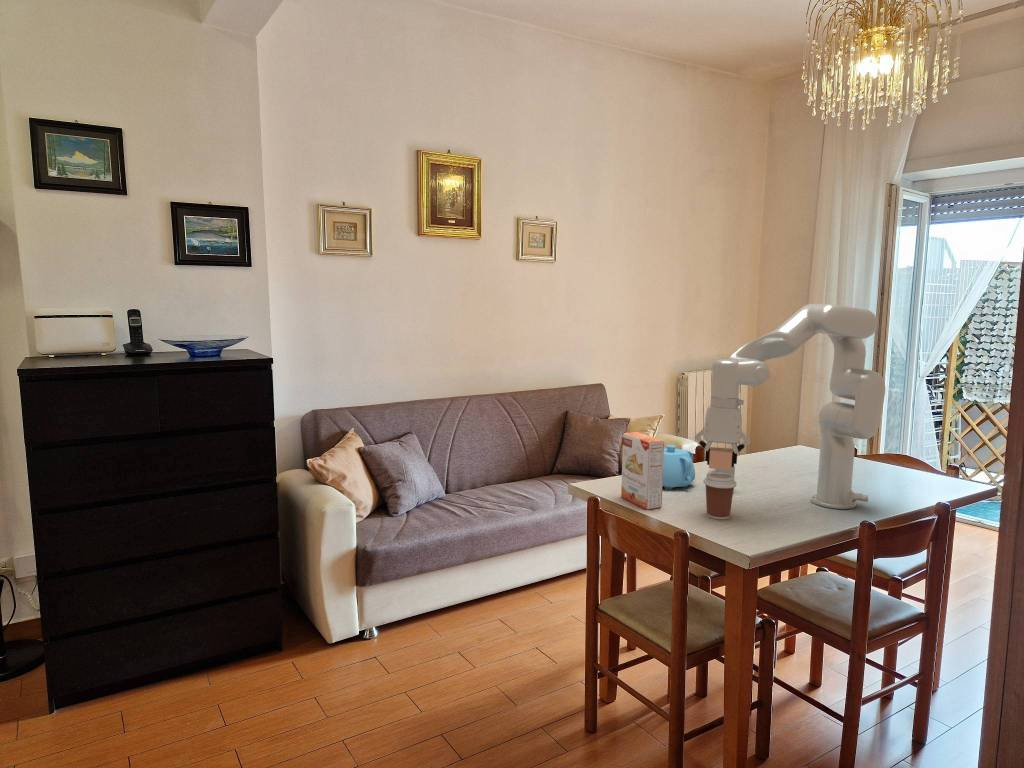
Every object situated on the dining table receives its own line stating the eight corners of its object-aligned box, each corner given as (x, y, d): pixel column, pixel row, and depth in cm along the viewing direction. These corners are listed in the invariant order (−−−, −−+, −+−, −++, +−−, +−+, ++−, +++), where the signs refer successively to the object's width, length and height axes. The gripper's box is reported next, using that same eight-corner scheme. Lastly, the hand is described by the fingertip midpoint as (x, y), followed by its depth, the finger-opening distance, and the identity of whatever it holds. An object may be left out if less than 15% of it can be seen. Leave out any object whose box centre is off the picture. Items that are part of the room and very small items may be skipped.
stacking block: (731, 465, 192) (732, 448, 191) (731, 470, 186) (732, 453, 186) (710, 463, 194) (711, 446, 193) (708, 468, 188) (709, 451, 188)
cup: (738, 492, 216) (739, 466, 214) (713, 496, 212) (715, 468, 211) (723, 486, 222) (724, 461, 221) (699, 489, 218) (700, 463, 217)
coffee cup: (701, 509, 198) (703, 470, 196) (733, 512, 195) (736, 473, 194) (701, 519, 189) (703, 478, 188) (735, 522, 187) (737, 481, 185)
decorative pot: (650, 476, 235) (652, 438, 233) (697, 481, 228) (699, 442, 227) (640, 488, 220) (641, 448, 218) (689, 494, 214) (691, 452, 212)
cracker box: (619, 497, 209) (622, 432, 206) (635, 495, 211) (638, 431, 209) (645, 510, 196) (648, 441, 193) (662, 508, 198) (665, 440, 196)
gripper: (756, 403, 189) (752, 465, 191) (693, 399, 194) (690, 459, 197) (756, 407, 182) (752, 471, 184) (691, 402, 187) (688, 465, 190)
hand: (720, 464), depth 190 cm, fingers closed on stacking block, 6 cm apart
